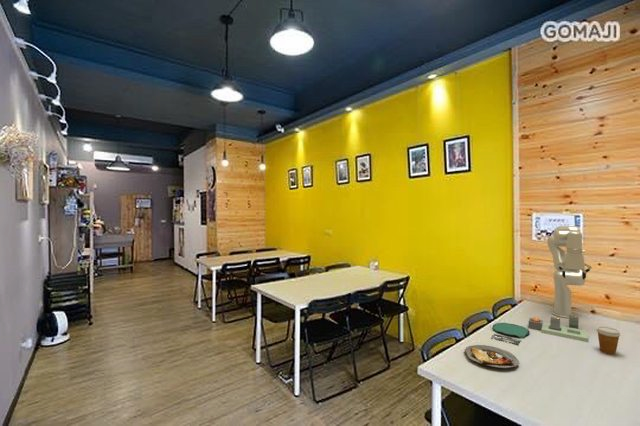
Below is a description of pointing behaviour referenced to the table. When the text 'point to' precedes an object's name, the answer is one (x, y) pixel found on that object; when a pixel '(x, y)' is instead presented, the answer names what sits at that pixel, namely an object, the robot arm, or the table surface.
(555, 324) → the seated billet
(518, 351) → the table surface
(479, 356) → the food plate
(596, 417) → the table surface
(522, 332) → the green-topped navy dish
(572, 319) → the knobbed taupe block
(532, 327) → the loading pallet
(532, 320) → the button
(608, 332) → the disposable coffee cup
